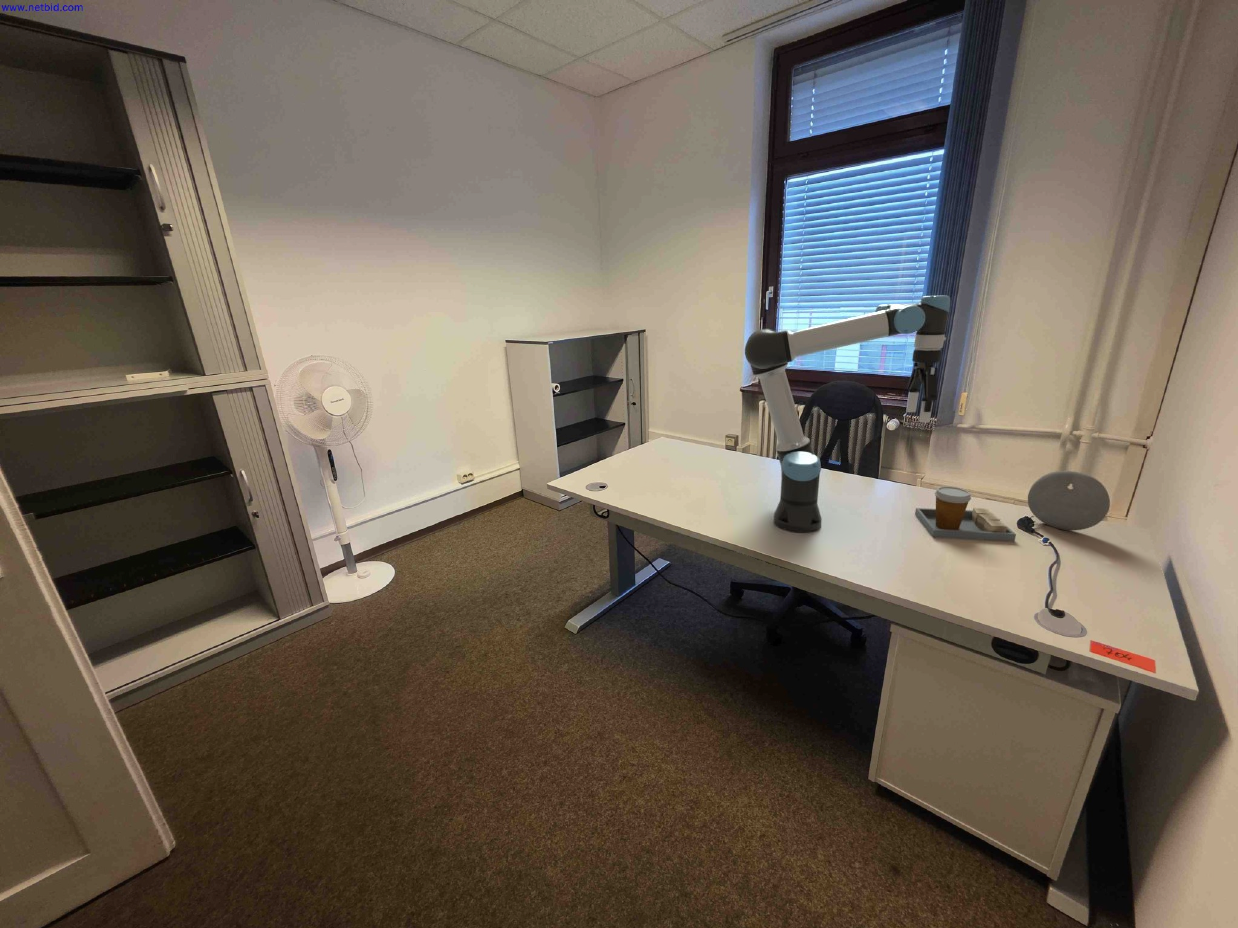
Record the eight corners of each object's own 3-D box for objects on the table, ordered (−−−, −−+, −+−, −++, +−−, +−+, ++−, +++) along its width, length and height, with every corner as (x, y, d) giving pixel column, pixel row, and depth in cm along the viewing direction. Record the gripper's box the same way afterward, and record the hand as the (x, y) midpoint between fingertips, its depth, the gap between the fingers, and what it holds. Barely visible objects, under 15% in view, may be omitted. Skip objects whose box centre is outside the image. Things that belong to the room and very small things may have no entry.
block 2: (984, 531, 151) (986, 519, 150) (976, 525, 155) (978, 514, 154) (997, 531, 151) (1000, 519, 150) (989, 525, 155) (991, 514, 153)
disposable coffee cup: (971, 533, 150) (978, 497, 146) (936, 532, 152) (942, 496, 148) (956, 520, 159) (963, 486, 155) (924, 519, 161) (930, 485, 157)
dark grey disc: (1101, 533, 148) (1118, 475, 142) (1099, 541, 143) (1117, 482, 137) (1024, 516, 161) (1036, 462, 155) (1020, 524, 156) (1032, 468, 150)
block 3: (989, 537, 147) (991, 525, 146) (983, 531, 151) (985, 519, 150) (1004, 538, 147) (1007, 526, 145) (997, 532, 150) (1000, 520, 149)
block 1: (974, 524, 156) (976, 512, 155) (971, 519, 160) (973, 507, 158) (989, 525, 155) (992, 514, 153) (985, 520, 158) (988, 509, 157)
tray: (932, 538, 150) (933, 529, 149) (914, 516, 165) (915, 508, 164) (1014, 543, 145) (1016, 534, 144) (988, 519, 160) (989, 511, 159)
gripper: (958, 353, 137) (944, 426, 144) (928, 344, 160) (918, 408, 166) (928, 353, 139) (916, 426, 145) (902, 345, 161) (893, 408, 168)
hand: (917, 416), depth 156 cm, fingers open, 13 cm apart
